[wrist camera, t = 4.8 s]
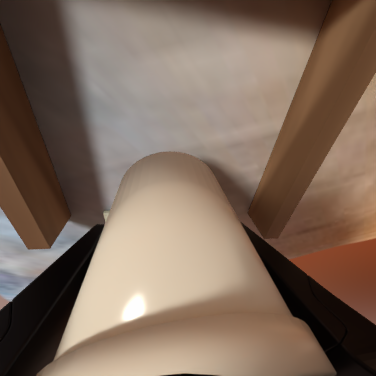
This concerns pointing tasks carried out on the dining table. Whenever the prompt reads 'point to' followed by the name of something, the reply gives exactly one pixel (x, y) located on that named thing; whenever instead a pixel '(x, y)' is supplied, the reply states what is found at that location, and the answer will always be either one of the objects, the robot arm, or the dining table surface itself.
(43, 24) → the dining table surface
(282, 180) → the cradle
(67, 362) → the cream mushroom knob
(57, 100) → the dining table surface
